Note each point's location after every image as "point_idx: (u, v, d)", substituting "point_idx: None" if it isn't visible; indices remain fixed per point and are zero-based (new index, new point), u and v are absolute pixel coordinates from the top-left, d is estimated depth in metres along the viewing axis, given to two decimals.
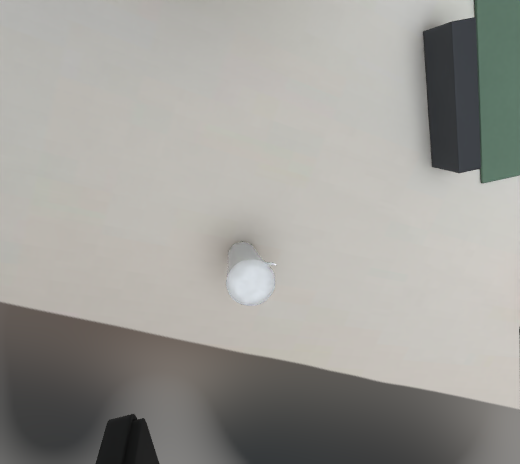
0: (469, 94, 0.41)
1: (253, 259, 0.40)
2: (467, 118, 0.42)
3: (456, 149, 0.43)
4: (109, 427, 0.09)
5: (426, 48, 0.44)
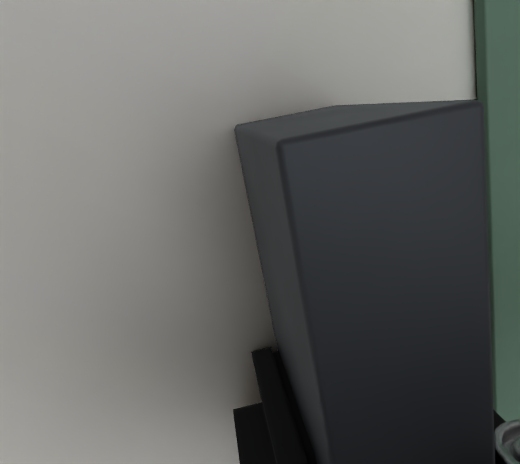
0: None
1: None
2: None
3: None
4: (255, 356, 0.11)
5: (251, 204, 0.09)
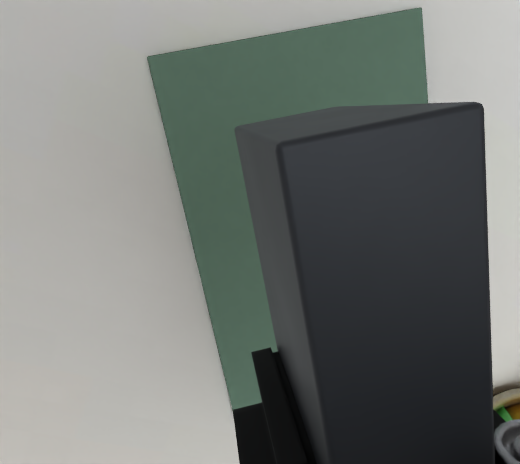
0: None
1: None
2: None
3: None
4: (255, 356, 0.11)
5: (250, 205, 0.09)
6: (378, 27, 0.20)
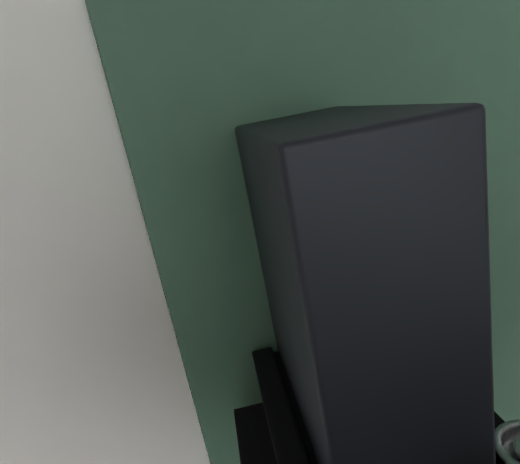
0: None
1: None
2: None
3: None
4: (256, 356, 0.11)
5: (251, 205, 0.09)
6: None
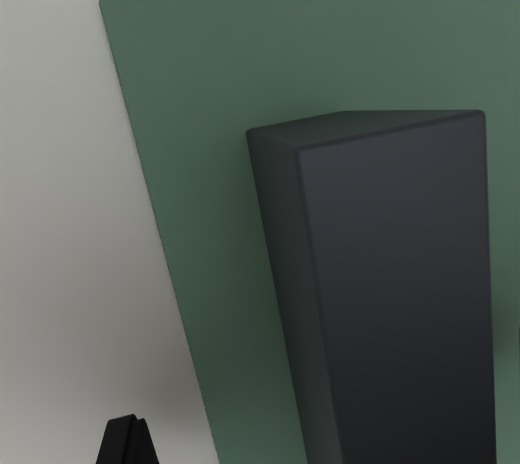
0: None
1: None
2: None
3: None
4: (109, 427, 0.09)
5: (261, 205, 0.10)
6: None
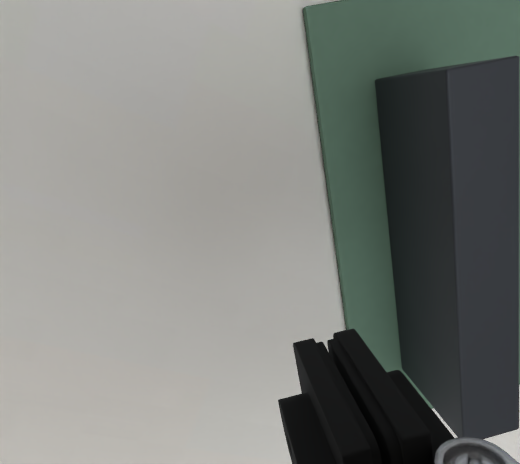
0: (494, 264, 0.15)
1: None
2: (488, 322, 0.16)
3: (458, 393, 0.16)
4: (299, 347, 0.11)
5: (383, 121, 0.18)
6: None
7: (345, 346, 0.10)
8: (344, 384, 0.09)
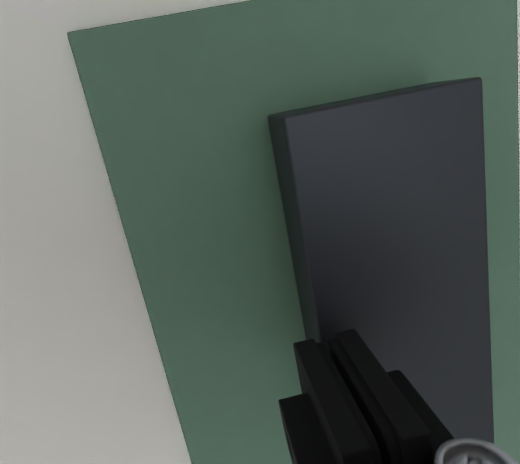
0: None
1: None
2: None
3: None
4: (299, 346, 0.11)
5: (315, 179, 0.11)
6: None
7: (345, 346, 0.10)
8: (344, 384, 0.09)
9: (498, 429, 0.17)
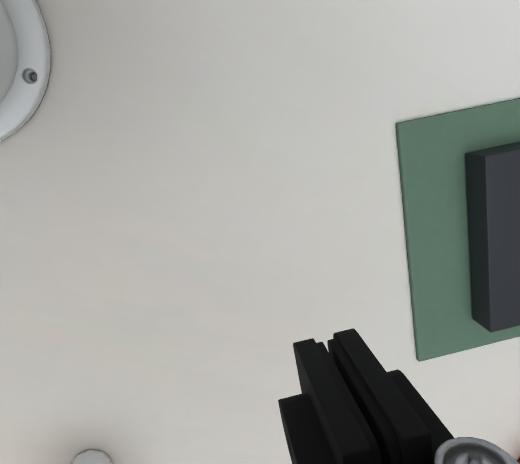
0: None
1: None
2: None
3: None
4: (299, 347, 0.11)
5: (493, 178, 0.31)
6: None
7: (345, 346, 0.10)
8: (344, 384, 0.09)
9: None
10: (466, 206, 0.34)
